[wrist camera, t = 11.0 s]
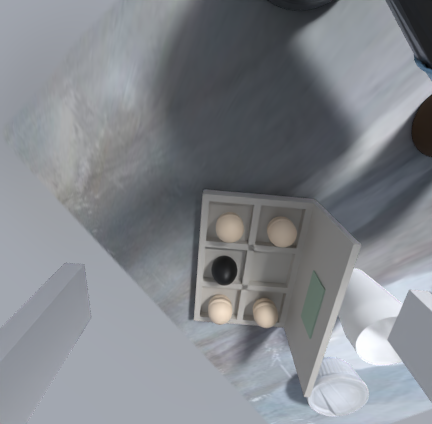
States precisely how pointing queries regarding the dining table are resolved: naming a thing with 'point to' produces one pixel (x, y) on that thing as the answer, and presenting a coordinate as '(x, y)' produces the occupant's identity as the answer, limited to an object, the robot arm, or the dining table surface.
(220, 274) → the egg
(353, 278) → the cup
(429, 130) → the olive oil
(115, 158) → the dining table surface
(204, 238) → the carton
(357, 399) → the ramekin
